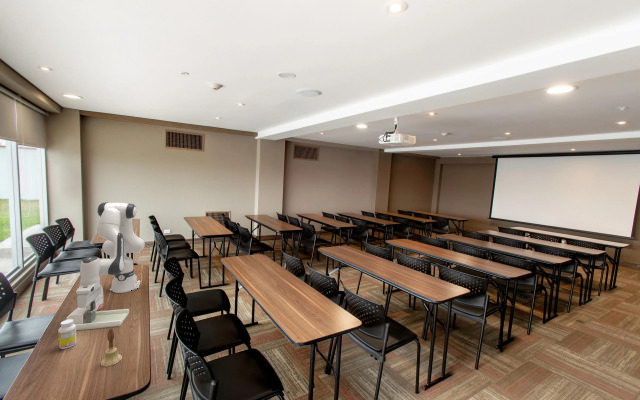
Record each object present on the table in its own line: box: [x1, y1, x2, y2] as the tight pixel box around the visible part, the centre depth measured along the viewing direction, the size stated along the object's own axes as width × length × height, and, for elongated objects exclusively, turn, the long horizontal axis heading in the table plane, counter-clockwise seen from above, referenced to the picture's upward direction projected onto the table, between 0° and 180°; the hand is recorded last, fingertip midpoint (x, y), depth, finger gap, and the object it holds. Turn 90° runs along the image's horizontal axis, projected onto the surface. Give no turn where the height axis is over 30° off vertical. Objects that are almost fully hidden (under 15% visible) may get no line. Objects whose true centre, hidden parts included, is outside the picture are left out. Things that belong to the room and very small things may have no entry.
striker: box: [87, 302, 96, 323], centre depth 160 cm, size 5×3×11 cm, turn 18°
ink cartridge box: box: [93, 285, 105, 312], centre depth 174 cm, size 9×5×15 cm, turn 168°
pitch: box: [66, 306, 130, 331], centre depth 161 cm, size 15×26×8 cm, turn 108°
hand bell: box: [100, 327, 123, 368], centre depth 129 cm, size 8×8×16 cm
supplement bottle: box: [57, 319, 77, 350], centre depth 138 cm, size 7×7×13 cm
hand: (90, 307), depth 159 cm, fingers closed on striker, 3 cm apart
